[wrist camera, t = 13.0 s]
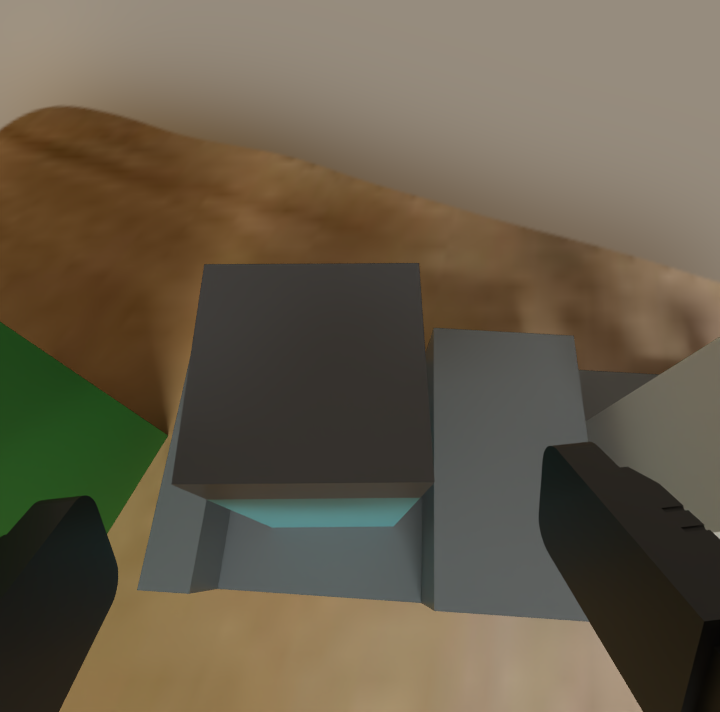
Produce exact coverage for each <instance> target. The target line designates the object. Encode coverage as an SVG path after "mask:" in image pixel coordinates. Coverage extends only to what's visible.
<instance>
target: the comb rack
mask: <svg viewBox="0 0 720 712" xmlns="http://www.w3.org/2000/svg"><path fill="white" fill-rule="evenodd" d="M190 357H191V356H190ZM189 363H190V361H189ZM426 368H427V382H428V396H429V410H430V424H431V438H432V452H433V466H434V480H435V482H434V484H433V485H432V486H431V487H430V488H429V489H428V490H427V491H426V492H425V493H424V494H423V495H422V496H421V498H420V499H419V500H418V501H417V502H416V503H415V504H414V505H413V506H412V507H411V508H410V509H409V510H408V511H407V513H406V514H405V515H404V516H403V517H402V518H401V519H400V520H399V521H398V522H397V523H396V524H395V525H394V526H385V527H276V528H272V527H270V526H267V525H265V524H263V523H260V522H258V521H255V520H253V519H251V518H248V517H246V516H244V515H241V514H239V513H237V512H234V511H232V510H230V509H227V508H225V507H223V506H220V505H218V504H216V503H213V502H211V501H209V500H206V499H204V498H202V497H199V496H197V495H195V494H192V493H190V492H188V491H185V490H183V489H181V488H178V487H176V486H174V485H171V483H172V476H173V470H174V463H175V456H176V450H177V443H178V436H179V430H180V423H181V416H182V410H183V403H184V396H185V390H186V383H187V376H188V370H189V365H188V369H187V374H186V378H185V382H184V387H183V391H182V396H181V400H180V404H179V409H178V413H177V418H176V422H175V426H174V431H173V435H172V440H171V444H170V448H169V453H168V457H167V461H166V466H165V470H164V475H163V479H162V483H161V488H160V492H159V497H158V501H157V505H156V510H155V514H154V518H153V523H152V527H151V532H150V536H149V540H148V545H147V549H146V554H145V558H144V562H143V567H142V571H141V576H140V580H139V584H138V589H137V590H143V591H158V592H172V593H186V594H190V593H196V592H202V591H207V590H213V589H229V590H243V591H258V592H272V593H287V594H301V595H316V596H330V597H344V598H359V599H373V600H388V601H402V602H416V603H422V604H424V605H426V606H427V607H429V608H431V609H432V610H434V611H445V612H459V613H473V614H488V615H502V616H516V617H531V618H545V619H559V620H574V621H588V622H589V620H588V619H587V617H586V615H585V614H584V612H583V610H582V609H581V607H580V605H579V604H578V602H577V600H576V599H575V597H574V595H573V594H572V592H571V590H570V588H569V587H568V585H567V583H566V582H565V580H564V578H563V577H562V575H561V573H560V572H559V570H558V568H557V567H556V565H555V563H554V562H553V560H552V558H551V557H550V555H549V553H548V551H547V550H546V547H545V545H544V542H543V539H542V536H541V532H540V527H539V502H540V488H541V475H542V461H543V454H544V451H545V449H546V448H547V447H548V446H553V445H562V444H571V443H581V442H588V437H587V429H586V422H585V421H587V420H588V419H590V418H592V417H593V416H595V415H596V414H598V413H599V412H601V411H603V410H604V409H606V408H607V407H609V406H611V405H612V404H614V403H615V402H617V401H619V400H620V399H622V398H623V397H625V396H626V395H628V394H630V393H631V392H633V391H634V390H636V389H638V388H639V387H641V386H642V385H644V384H646V383H647V382H649V381H650V380H652V379H653V378H655V377H657V376H658V374H640V373H623V372H606V371H589V370H578V364H577V356H576V349H575V342H574V336H568V335H550V334H533V333H515V332H497V331H480V330H462V329H444V328H434V329H433V332H432V335H431V338H430V341H429V344H428V347H427V351H426Z"/></svg>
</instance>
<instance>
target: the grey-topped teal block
mask: <svg viewBox="0 0 720 712" xmlns="http://www.w3.org/2000/svg"><path fill="white" fill-rule="evenodd" d="M434 482H435V480H434V466H433V452H432V438H431V424H430V410H429V396H428V382H427V368H426V354H425V340H424V327H423V313H422V299H421V285H420V271H419V263H362V264H204V270H203V277H202V283H201V290H200V297H199V303H198V310H197V317H196V323H195V330H194V337H193V343H192V350H191V357H190V363H189V370H188V376H187V383H186V390H185V396H184V403H183V410H182V416H181V423H180V430H179V436H178V443H177V450H176V456H175V463H174V470H173V476H172V483H171V485H174V486H176V487H178V488H181V489H183V490H185V491H188V492H190V493H192V494H195V495H197V496H199V497H202V498H204V499H206V500H209V501H211V502H213V503H216V504H218V505H220V506H223V507H225V508H227V509H230V510H232V511H234V512H237V513H239V514H241V515H244V516H246V517H248V518H251V519H253V520H255V521H258V522H260V523H263V524H265V525H267V526H270V527H272V528H276V527H385V526H394V525H395V524H396V523H397V522H398V521H399V520H400V519H401V518H402V517H403V516H404V515H405V514H406V513H407V511H408V510H409V509H410V508H411V507H412V506H413V505H414V504H415V503H416V502H417V501H418V500H419V499H420V498H421V496H422V495H423V494H424V493H425V492H426V491H427V490H428V489H429V488H430V487H431V486H432V485H433V484H434Z"/></svg>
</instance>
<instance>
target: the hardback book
mask: <svg viewBox="0 0 720 712" xmlns="http://www.w3.org/2000/svg"><path fill="white" fill-rule="evenodd" d="M167 437H168V435H166V434H165V433H164V432H162V431H161V430H159V429H158V428H156V427H155V426H153V425H152V424H150V423H149V422H147V421H146V420H144V419H143V418H141V417H140V416H138V415H137V414H135V413H134V412H133V411H131V410H130V409H128V408H127V407H125V406H124V405H122V404H121V403H119V402H118V401H116V400H115V399H113V398H112V397H110V396H109V395H107V394H106V393H104V392H103V391H102V390H100V389H99V388H97V387H96V386H94V385H93V384H91V383H90V382H88V381H87V380H85V379H84V378H82V377H81V376H79V375H78V374H76V373H75V372H73V371H72V370H71V369H69V368H68V367H66V366H65V365H63V364H62V363H60V362H59V361H57V360H56V359H54V358H53V357H51V356H50V355H48V354H47V353H45V352H44V351H42V350H41V349H40V348H38V347H37V346H35V345H34V344H32V343H31V342H29V341H28V340H26V339H25V338H23V337H22V336H20V335H19V334H17V333H16V332H14V331H13V330H11V329H10V328H9V327H7V326H6V325H4V324H3V323H1V322H0V537H1V536H3V535H7V533H8V532H9V531H10V530H11V529H12V528H13V527H14V526H15V524H16V523H17V522H18V521H19V520H20V519H21V518H22V516H23V515H24V514H25V513H26V512H27V511H28V510H29V509H30V507H31V506H32V505H33V504H35V503H36V502H38V501H40V500H47V499H57V498H66V497H75V496H84V495H87V496H90V497H91V498H92V499H93V500H94V501H95V503H96V505H97V507H98V510H99V513H100V516H101V519H102V521H103V524H104V527H105V530H106V533H108V531H109V530H110V528H111V527H112V525H113V523H114V522H115V520H116V519H117V517H118V515H119V514H120V512H121V511H122V509H123V507H124V506H125V504H126V503H127V501H128V499H129V498H130V496H131V494H132V493H133V491H134V490H135V488H136V486H137V485H138V483H139V482H140V480H141V478H142V477H143V475H144V474H145V472H146V470H147V469H148V467H149V466H150V464H151V462H152V461H153V459H154V457H155V456H156V454H157V453H158V451H159V449H160V448H161V446H162V445H163V443H164V441H165V440H166V438H167Z"/></svg>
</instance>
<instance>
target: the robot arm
mask: <svg viewBox="0 0 720 712" xmlns="http://www.w3.org/2000/svg"><path fill="white" fill-rule="evenodd" d="M539 527H540V532H541V536H542V539H543V542H544V545H545V547H546V550H547V551H548V553H549V555H550V557H551V558H552V560H553V562H554V563H555V565H556V567H557V568H558V570H559V572H560V573H561V575H562V577H563V578H564V580H565V582H566V583H567V585H568V587H569V588H570V590H571V592H572V594H573V595H574V597H575V599H576V600H577V602H578V604H579V605H580V607H581V609H582V610H583V612H584V614H585V615H586V617H587V619H588V620H589V622H590V624H591V625H592V627H593V629H594V630H595V632H596V634H597V635H598V637H599V639H600V640H601V642H602V644H603V645H604V647H605V649H606V650H607V652H608V654H609V655H610V657H611V659H612V660H613V662H614V664H615V665H616V667H617V669H618V670H619V672H620V674H621V675H622V677H623V679H624V680H625V682H626V684H627V685H628V687H629V689H630V690H631V692H632V694H633V695H634V697H635V699H636V701H637V702H638V704H639V706H640V707H641V709H642V711H643V712H720V539H719V538H718V537H717V536H716V535H715V534H714V533H713V532H712V531H711V530H706V529H705V527H704V524H703V523H702V522H701V521H700V520H699V519H698V518H696V517H695V516H694V515H693V514H692V513H691V512H690V511H689V510H684V508H683V505H682V504H681V503H680V502H679V501H678V500H677V499H676V498H675V497H673V496H672V495H671V494H670V493H669V492H668V491H667V490H666V489H665V488H664V487H663V486H661V485H660V484H659V483H657V482H656V481H654V480H652V479H650V478H648V477H646V476H644V475H643V474H641V473H639V472H637V471H635V470H633V469H631V468H629V467H619V466H618V465H617V464H616V463H615V462H614V461H613V460H612V459H611V458H610V457H609V456H608V455H607V454H606V453H604V452H603V451H602V450H601V449H600V448H599V447H598V446H597V445H596V444H595V443H593V442H581V443H571V444H562V445H553V446H548V447H547V448H546V449H545V451H544V454H543V461H542V475H541V488H540V502H539ZM117 585H118V567H117V563H116V559H115V556H114V553H113V551H112V548H111V545H110V542H109V539H108V536H107V533H106V530H105V527H104V524H103V521H102V519H101V516H100V513H99V510H98V507H97V505H96V503H95V501H94V500H93V499H92V498H91V497H90V496H87V495H84V496H75V497H66V498H57V499H47V500H40V501H38V502H36V503H35V504H33V505H32V506H31V507H30V509H29V510H28V511H27V512H26V513H25V514H24V515H23V516H22V518H21V519H20V520H19V521H18V522H17V523H16V524H15V526H14V527H13V528H12V529H11V530H10V531H9V532H8V533H7V535H3V536H1V537H0V712H59V710H60V708H61V706H62V704H63V702H64V700H65V698H66V696H67V694H68V692H69V690H70V688H71V686H72V684H73V682H74V680H75V678H76V676H77V674H78V672H79V670H80V668H81V666H82V664H83V662H84V660H85V658H86V656H87V653H88V651H89V649H90V647H91V645H92V643H93V641H94V639H95V637H96V635H97V633H98V631H99V629H100V627H101V625H102V623H103V621H104V619H105V617H106V615H107V613H108V611H109V609H110V607H111V605H112V603H113V600H114V597H115V594H116V590H117Z"/></svg>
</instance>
